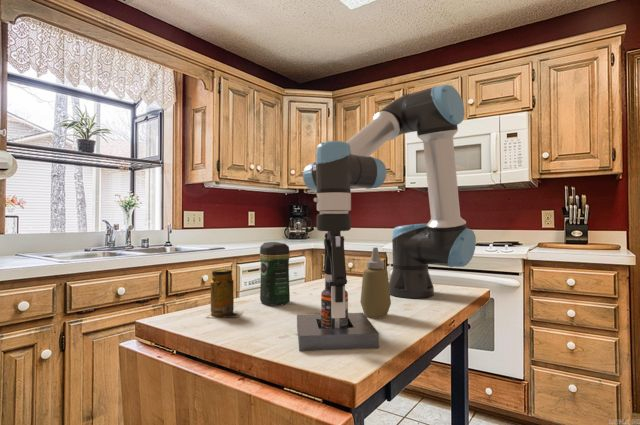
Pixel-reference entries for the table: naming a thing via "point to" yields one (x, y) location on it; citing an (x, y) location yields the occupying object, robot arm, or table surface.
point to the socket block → (336, 334)
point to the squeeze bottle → (375, 288)
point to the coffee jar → (274, 273)
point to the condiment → (222, 295)
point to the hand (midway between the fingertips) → (334, 309)
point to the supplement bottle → (327, 310)
